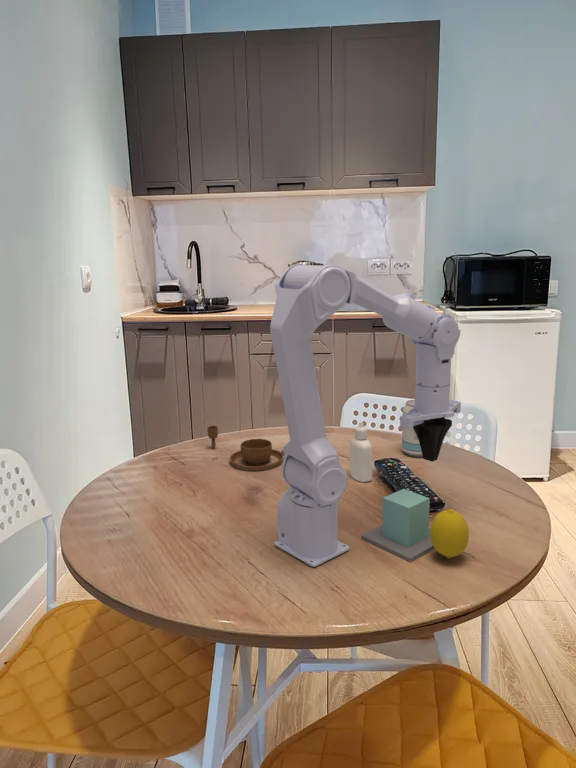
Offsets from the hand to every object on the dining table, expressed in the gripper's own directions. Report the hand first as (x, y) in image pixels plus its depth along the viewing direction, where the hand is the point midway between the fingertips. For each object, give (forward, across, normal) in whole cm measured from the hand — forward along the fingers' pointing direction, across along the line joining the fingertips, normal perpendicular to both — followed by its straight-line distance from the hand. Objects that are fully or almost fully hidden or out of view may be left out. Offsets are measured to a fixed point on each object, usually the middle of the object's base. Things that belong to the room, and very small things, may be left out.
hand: (430, 459), depth 101 cm
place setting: (+11, -6, +45) cm, 47 cm away
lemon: (+10, -11, -12) cm, 19 cm away
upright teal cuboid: (+9, -11, -4) cm, 15 cm away
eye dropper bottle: (+10, +3, +19) cm, 22 cm away
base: (+10, -11, -4) cm, 15 cm away
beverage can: (+10, +23, +20) cm, 32 cm away
